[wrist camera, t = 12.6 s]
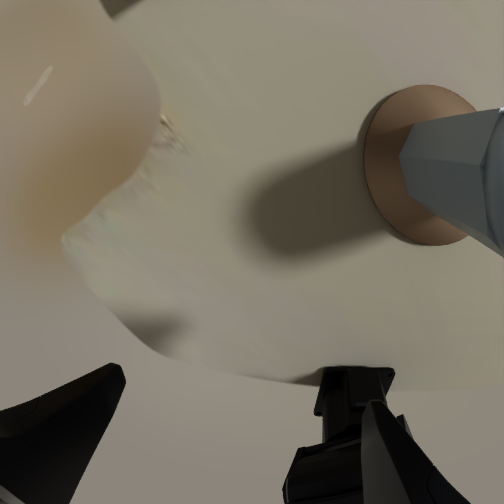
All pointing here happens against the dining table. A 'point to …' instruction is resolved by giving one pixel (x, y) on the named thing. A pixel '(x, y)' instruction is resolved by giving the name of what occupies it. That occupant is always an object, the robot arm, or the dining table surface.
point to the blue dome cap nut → (460, 172)
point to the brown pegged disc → (388, 165)
